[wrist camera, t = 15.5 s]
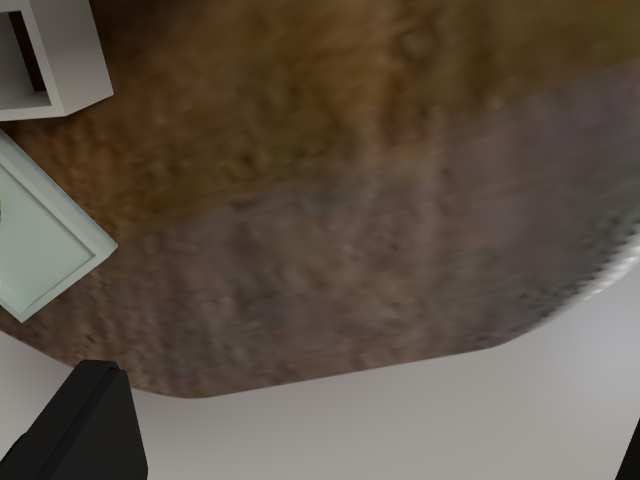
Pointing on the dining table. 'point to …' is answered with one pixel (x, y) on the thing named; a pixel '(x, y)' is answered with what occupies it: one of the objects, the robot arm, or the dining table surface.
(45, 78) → the grey square open box
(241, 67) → the dining table surface
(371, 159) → the dining table surface
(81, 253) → the tray
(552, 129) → the dining table surface
